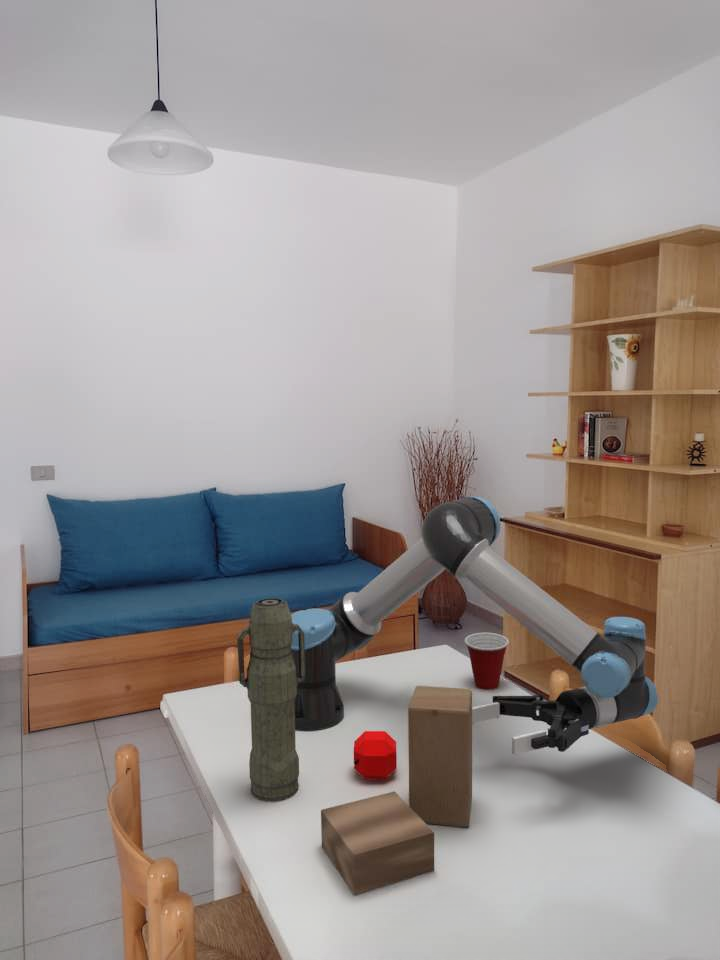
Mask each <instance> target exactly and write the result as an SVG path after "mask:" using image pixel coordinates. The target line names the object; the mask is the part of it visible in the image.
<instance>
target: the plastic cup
mask: <svg viewBox="0 0 720 960" xmlns="http://www.w3.org/2000/svg"><path fill="white" fill-rule="evenodd" d="M509 642H510V641H509V638H507V637H506V636H505V635H502V634H499V633H495V632H494V633H493V632H477V633H472V634H468V635H467V636H466V637H464V643H465V645H466V647H467V650H468V654H469V658H470V659H469V660H470V664H471V670H472V674H473V680H474V684H475V687H476V688H479V689H481V690H488V691H489V690H495V689H498V687H499V685H500V679H501V674H502V670H503V666H504V665H503V664H504V658H505V653H506V650H507V646H509Z"/></svg>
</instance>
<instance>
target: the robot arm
mask: <svg viewBox="0 0 720 960" xmlns="http://www.w3.org/2000/svg"><path fill="white" fill-rule="evenodd" d="M500 531H501V519H500V515H499V513H498V511H497V510H496V508H495V507H494V505H493V504H492V503H491V502H490V501H488V500H487V499H484V498H483V497H479V496H469V495H467V496H464V497H461V498H459V499H457V500H453V501H449V502H448V501H447V502H443V503H441V504H438V505H436V506H434V507H433V508H432V509H430V511H429V512H428V513H427V515H426V516H425V517H424V520H423V522H422V526H421V536H422V537H421V538H420V539H419V540H418V541H416V542H415V543H414V544H413V545H412V546H411V547H409V548H408V549H407V550H406V551H405V552H404V553H402V554H401V555H400V556H399V557H398V558H397V559H395V560H394V561H393V562H392V563H391V564H390V565H388V566H387V567H386V568H385V569H384V570H383V571H381V572H380V573H379V574H378V575H377V576H376V577H375V578H373V579H372V580H371V581H369V583H367V585H365V586H364V587H363V588H362V589H361V590H359V591H358V592H356V591H350V592H348V593H346V594H345V595H343V596H342V598H340V599H339V600H337V602H336V603H334V604H333V605H332V606H331V607H329V608H327V609H326V608H325V609H324V608H318V607H317V608H308V609H306V610H303V609H301V610H298V611H296V612H294V613H291V616H292V623H293V624H298V625H299V627H300V628H301V629H302V631H303V632H304V644H305V679H304V681H302V682H298V686H297V695H296V698H295V700H294V702H295V731H297V730H298V731H317V730H323V729H327V728H330V727H334V726H336V725H338V724H339V723H340V722H341V721H342V720H343V719H344V717H345V705H344V701H343V699H342V696H341V693H340V690H339V688H338V686H337V682H336V681H337V680H336V662H338V661H339V660H341V659H343V658H345V657H346V656H348V655H350V654H352V653H354V652H356V651H358V650H361V649H363V648H364V647H366V646H367V645H368V644H369V643H370V642H371V641H372V640H373V638H374V636H376V635H377V634H378V633H379V631H381V627H382V621H383V620H385V619H387V618H388V617H389V616H390V615H391V614H392V613H394V612H395V611H396V610H397V609H398V608H400V607H401V606H402V605H403V604H404V603H406V602H407V601H408V600H409V599H410V598H412V597H413V596H414V595H415V594H417V593H418V592H419V591H420V590H421V589H423V588H425V586H427V585H428V584H429V583H430V582H432V581H433V580H434V579H435V578H437V577H438V576H439V575H440V574H441V573H442V572H444V571H445V570H446V571H447V572H449V573H450V574H451V575H452V576H454V578H456V579H457V580H458V579H465V580H466V581H468V582H469V583H470V584H472V585H473V586H474V587H475V588H476V589H478V590H479V591H480V592H481V593H483V595H485V596H486V597H487V598H489V599H490V600H491V601H493V602H494V603H495V604H496V605H497V606H499V607H500V608H501V609H502V610H504V612H506V613H507V614H509V616H510V617H512V618H513V619H515V620H516V621H517V622H518V623H519V624H521V625H522V627H523V626H524V627H525V629H526V630H528V631H529V632H531V633H532V634H533V635H534V636H535V637H536V638H538V639H539V640H541V641H542V642H543V643H544V644H545V645H547V646H548V647H549V648H550V649H551V650H552V651H554V652H555V653H556V654H557V655H559V656H560V657H561V658H562V659H564V660H565V661H566V662H568V663H569V664H570V665H571V666H572V667H574V668H575V669H576V670H577V671H578V672H579V673H580V675H581V681H582V682H583V685H584V686H581V687H578V688H572V689H568V690H563V691H562V692H560V693H559V694H558V696H557V698H556V699H555V700H549V699H548V700H544V694H541V693H540V694H534V695H493V696H492V703H487V704H483V705H476V706H474V707H473V706H472V724H477V723H481V722H484V721H490V720H494V719H499V718H501V717H500V716H508V717H510V716H511V717H518V718H519V717H520V718H531V719H532V720H533V721H534V722H535V721H536V722H543V723H545V724H547V725H548V726H550V727H548V728H547V731H546V730H544V729H541V730H537V731H533V732H529V733H524V734H520V735H515V736H512V737H511V753H512V754H513V755H514V756H515V755H516V756H517V755H520V754H522V753H523V754H524V753H528V752H531V751H534V750H535V751H536V750H540V749H544V748H550V749H554V748H557V751H559V752H561V753H563V752H566V750H568V749H569V748H570V747H572V746H573V744H575V743H576V742H577V741H578V740H579V739H580V738H581V737H585V736H587V735H589V732H590V731H589V730H592V729H594V728H595V729H599V727H602V726H603V727H604V726H607V725H610V724H615V723H616V724H617V723H620V722H623V721H627V720H632V719H633V720H636V719H639V718H640V717H643V716H646V715H649V714H651V713H652V712H654V711H655V710H656V709H657V706H658V704H659V694H658V693H657V690H656V685H655V684H654V682H653V681H652V680H651V679H650V678H648V677H647V676H646V649H647V648H646V646H647V645H646V643H647V636H646V625H645V623H644V622H643V621H642V620H640V619H638V618H634V617H631V616H630V617H629V616H628V617H627V616H612V617H609V618H607V619H606V620H605V621H604V625H603V627H604V628H603V633H602V634H603V636H602V635H601V634H599V633H598V632H597V631H596V630H595V629H593V628H592V626H590V625H588V624H587V623H586V622H584V621H583V620H582V619H581V618H580V617H578V616H577V615H576V614H574V613H573V612H571V611H570V610H569V609H568V608H566V607H565V606H564V605H563V604H561V602H559V601H558V600H556V599H555V598H554V597H552V596H551V595H550V594H549V593H547V592H546V591H545V590H544V589H542V588H541V587H540V586H539V585H537V584H536V583H535V582H533V581H532V580H531V579H529V577H527V576H526V575H525V574H523V573H522V572H521V571H519V570H518V569H517V568H516V567H515V566H513V565H512V564H510V563H509V562H508V561H507V560H505V559H504V558H503V557H502V556H500V555H499V554H498V553H497V552H496V551H494V550H493V549H491V548H490V547H491V546H492V545H493V544H494V542H495V541H496V540H497V538H498V537H499V535H500ZM291 649H292V650H293V659H294V661H295V664H296V672H297V674H298V675H300V673H299V638H298V630H297V631H295V633H292V645H291ZM537 711H538V714H537Z"/></svg>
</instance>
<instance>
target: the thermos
mask: <svg viewBox="0 0 720 960" xmlns="http://www.w3.org/2000/svg"><path fill="white" fill-rule="evenodd" d="M291 614H292V613H291V611H290V608H289V605H288V602H287V601H286V600H284V599H281V598H279V597H278V598H277V597H269V598H268V597H267V598H261V599H259V600H257V601H255V602H254V603H253V604H252V607H251V610H250V614H249V621H248V627H245V628H242V630H241V631H240V632H239V634H238V635H237V637H236V643H237V657H238V658H237V659H238V681H239V684H240V685H241V686H243V688H246V689H247V699H248V701H249V703H250V726H251V730H250V732H251V750H250V753H249V763H248V764H249V765H248V766H249V767H248V768H249V779H250V783H251V784H250V785H251V787H250V793H251V796H253V797H254V799H256V798H257V800H260V801H262V802H267V801H268V802H269V801H270V802H276V801H277V802H281V801H285V800H287V799H290V798H292V797H294V796H295V795H296V794H297V793H298V791H299V786H300V785H299V777H300V758H299V755H298V752H297V749H296V729H295V702H294V700H295V698H296V695H297V686H298V682H302V681H304V679H305V644H304V632H303V631H302V629H301V628H300V627H299V625H298V624H293V623H292V616H291ZM297 630H298V638H299V673H300V675H298V674H297V672H296V664H295V661H294V659H293V650H292V649H291V645H292V633H295V631H297ZM247 635H248V636H249V638H248V639H249V647H250V652H249V661H248V665H247V668H246V678H245V650H244V649H245V648H244V638H245V637H246V636H247ZM268 802H267V803H268ZM270 802H269V803H270Z"/></svg>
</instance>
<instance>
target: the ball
mask: <svg viewBox="0 0 720 960" xmlns="http://www.w3.org/2000/svg"><path fill="white" fill-rule="evenodd" d="M397 758H398V757H397V741H396V740H395V739H394V738H393V737H392V735H390V734H389V733H388V732H387V731H385V730H365V731H363V732H362V733H361V734H360V735H359V736H358V737H357V738H356V739H355V740H354V742H353V765H354V766H353V770H355V771H356V772H357V773H358V774H359V775H360V776H361V777H362V778H363V779H364V780H387V779H388V778H389V777H390V776H391V775H392V774H393V773H394V772H395V771H396V770H397V768H398V767H397V766H398V765H397V764H398V763H397V761H398V760H397Z"/></svg>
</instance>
